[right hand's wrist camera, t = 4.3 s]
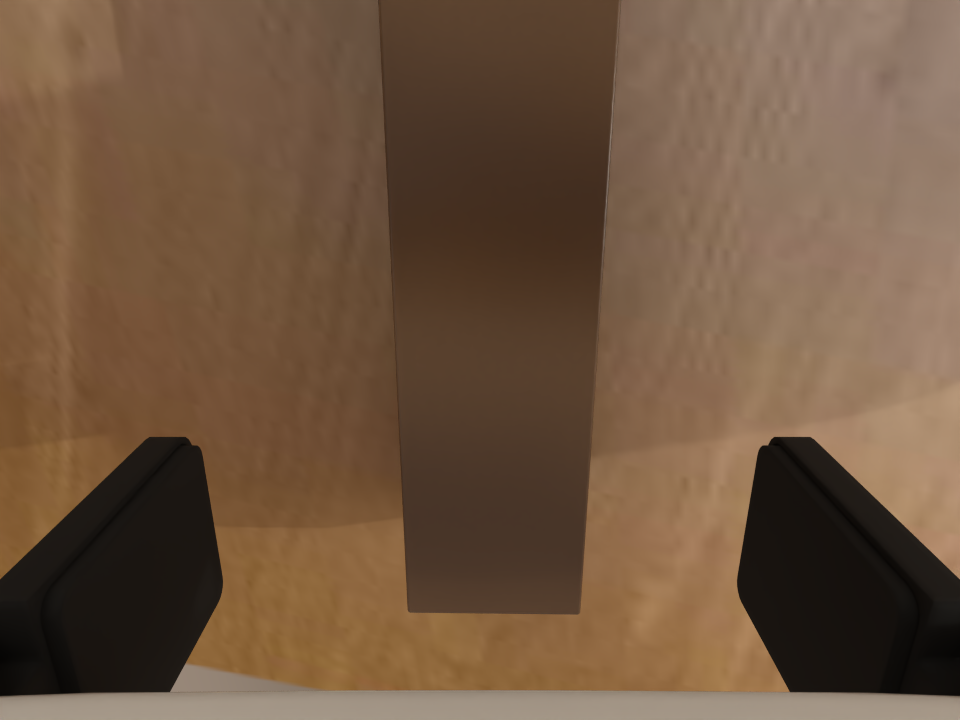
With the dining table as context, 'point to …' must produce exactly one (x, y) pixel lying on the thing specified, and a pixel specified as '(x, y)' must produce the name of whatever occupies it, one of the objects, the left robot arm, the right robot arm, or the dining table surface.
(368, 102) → the dining table surface
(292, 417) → the dining table surface
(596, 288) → the bar
